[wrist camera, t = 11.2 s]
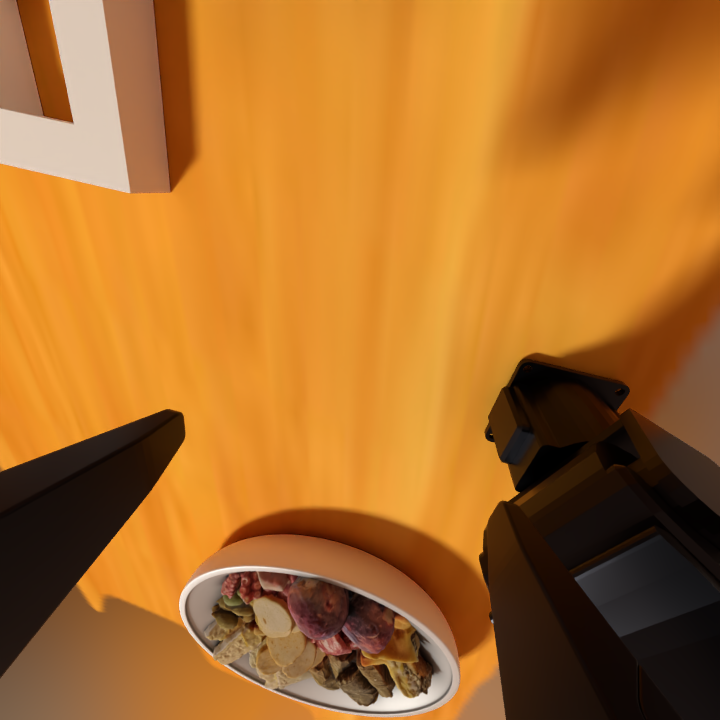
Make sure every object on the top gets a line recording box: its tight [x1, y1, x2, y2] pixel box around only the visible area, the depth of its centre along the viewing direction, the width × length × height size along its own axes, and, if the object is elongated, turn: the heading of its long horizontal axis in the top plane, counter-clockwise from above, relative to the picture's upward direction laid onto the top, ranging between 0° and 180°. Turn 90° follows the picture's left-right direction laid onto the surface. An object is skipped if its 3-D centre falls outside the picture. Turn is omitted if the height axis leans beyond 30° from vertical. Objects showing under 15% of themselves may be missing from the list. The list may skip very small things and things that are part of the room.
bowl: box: [179, 534, 460, 717], centre depth 35 cm, size 30×30×8 cm
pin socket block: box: [0, 0, 171, 193], centre depth 16 cm, size 10×10×3 cm
